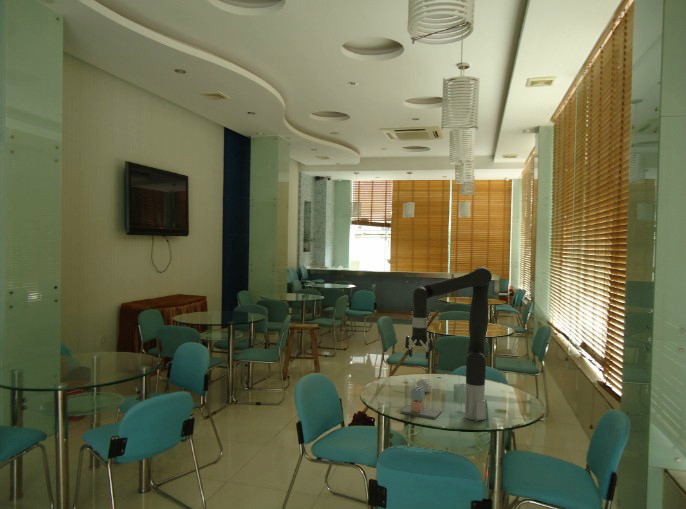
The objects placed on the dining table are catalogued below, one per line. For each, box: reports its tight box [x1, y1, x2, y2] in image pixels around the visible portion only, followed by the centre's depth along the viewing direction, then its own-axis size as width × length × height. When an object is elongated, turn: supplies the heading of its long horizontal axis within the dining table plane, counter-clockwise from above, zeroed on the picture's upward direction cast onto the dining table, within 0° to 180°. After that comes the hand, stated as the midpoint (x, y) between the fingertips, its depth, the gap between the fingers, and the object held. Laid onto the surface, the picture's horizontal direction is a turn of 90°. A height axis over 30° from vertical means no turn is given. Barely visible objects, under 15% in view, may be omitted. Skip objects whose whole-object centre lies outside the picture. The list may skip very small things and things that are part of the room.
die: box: [415, 376, 433, 393], centre depth 303 cm, size 8×9×10 cm
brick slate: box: [410, 385, 426, 401], centre depth 264 cm, size 6×5×6 cm
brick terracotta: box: [410, 399, 425, 412], centre depth 265 cm, size 6×5×6 cm
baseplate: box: [400, 404, 443, 420], centre depth 264 cm, size 18×11×1 cm, turn 63°
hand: (418, 357), depth 264 cm, fingers open, 8 cm apart
